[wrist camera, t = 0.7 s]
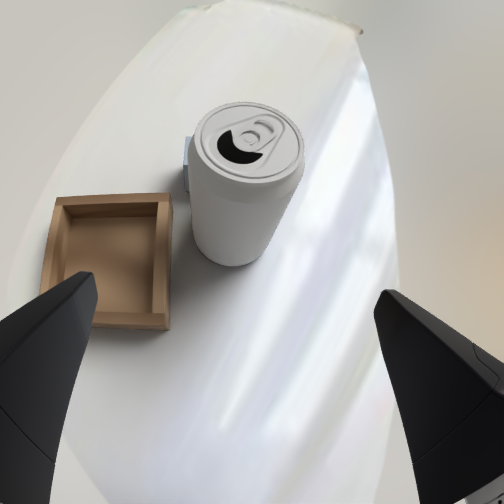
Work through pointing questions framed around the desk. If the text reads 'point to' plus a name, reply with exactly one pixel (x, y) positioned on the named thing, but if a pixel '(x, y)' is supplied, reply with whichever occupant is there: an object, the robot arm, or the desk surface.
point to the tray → (115, 255)
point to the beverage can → (242, 179)
